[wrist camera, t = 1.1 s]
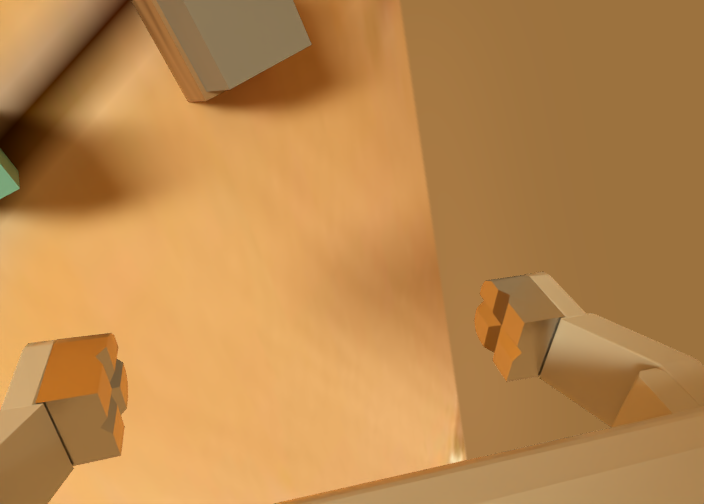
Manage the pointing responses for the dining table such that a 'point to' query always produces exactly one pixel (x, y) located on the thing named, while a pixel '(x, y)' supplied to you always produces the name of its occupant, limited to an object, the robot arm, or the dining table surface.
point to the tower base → (172, 51)
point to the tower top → (235, 37)
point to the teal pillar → (7, 176)
